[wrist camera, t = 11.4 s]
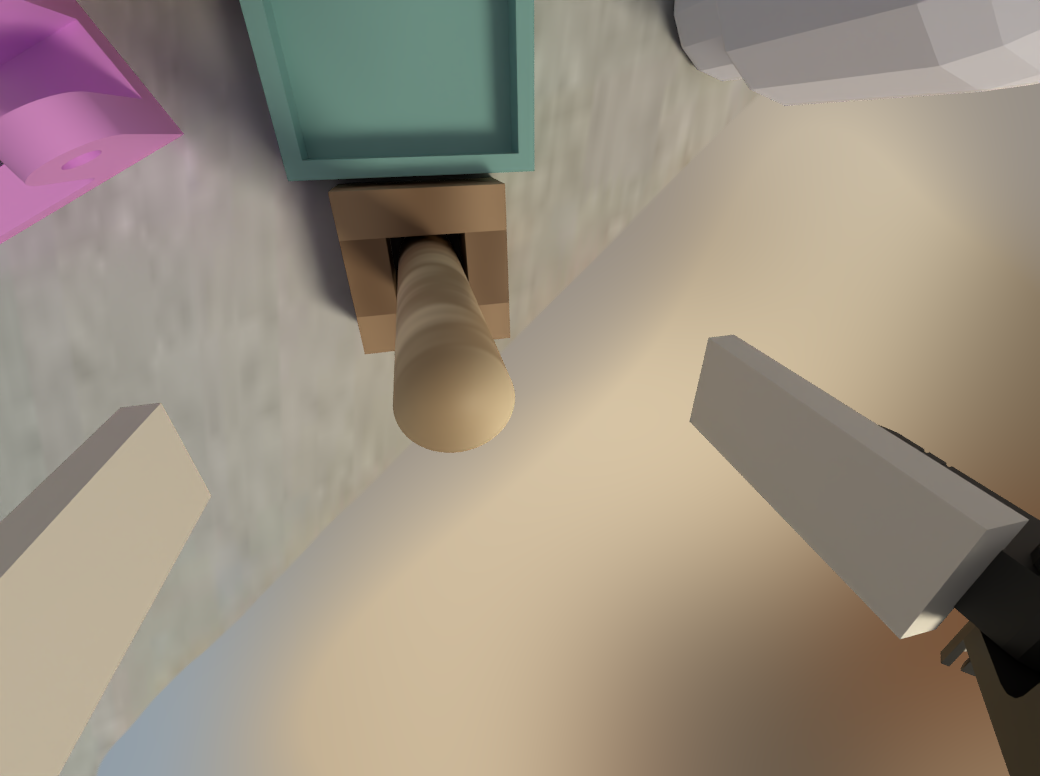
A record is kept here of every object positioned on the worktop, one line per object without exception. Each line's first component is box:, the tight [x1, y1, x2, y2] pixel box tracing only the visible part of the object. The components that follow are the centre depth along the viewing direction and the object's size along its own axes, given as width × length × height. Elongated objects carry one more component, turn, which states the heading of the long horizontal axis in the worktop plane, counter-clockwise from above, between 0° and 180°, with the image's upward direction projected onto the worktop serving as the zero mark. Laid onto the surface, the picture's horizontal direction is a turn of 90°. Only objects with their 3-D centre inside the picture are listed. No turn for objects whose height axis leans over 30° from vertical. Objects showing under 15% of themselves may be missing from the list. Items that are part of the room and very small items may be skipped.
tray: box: [239, 0, 534, 181], centre depth 19 cm, size 12×12×2 cm
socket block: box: [328, 178, 510, 354], centre depth 23 cm, size 8×8×4 cm
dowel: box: [393, 234, 515, 453], centre depth 18 cm, size 3×3×16 cm
